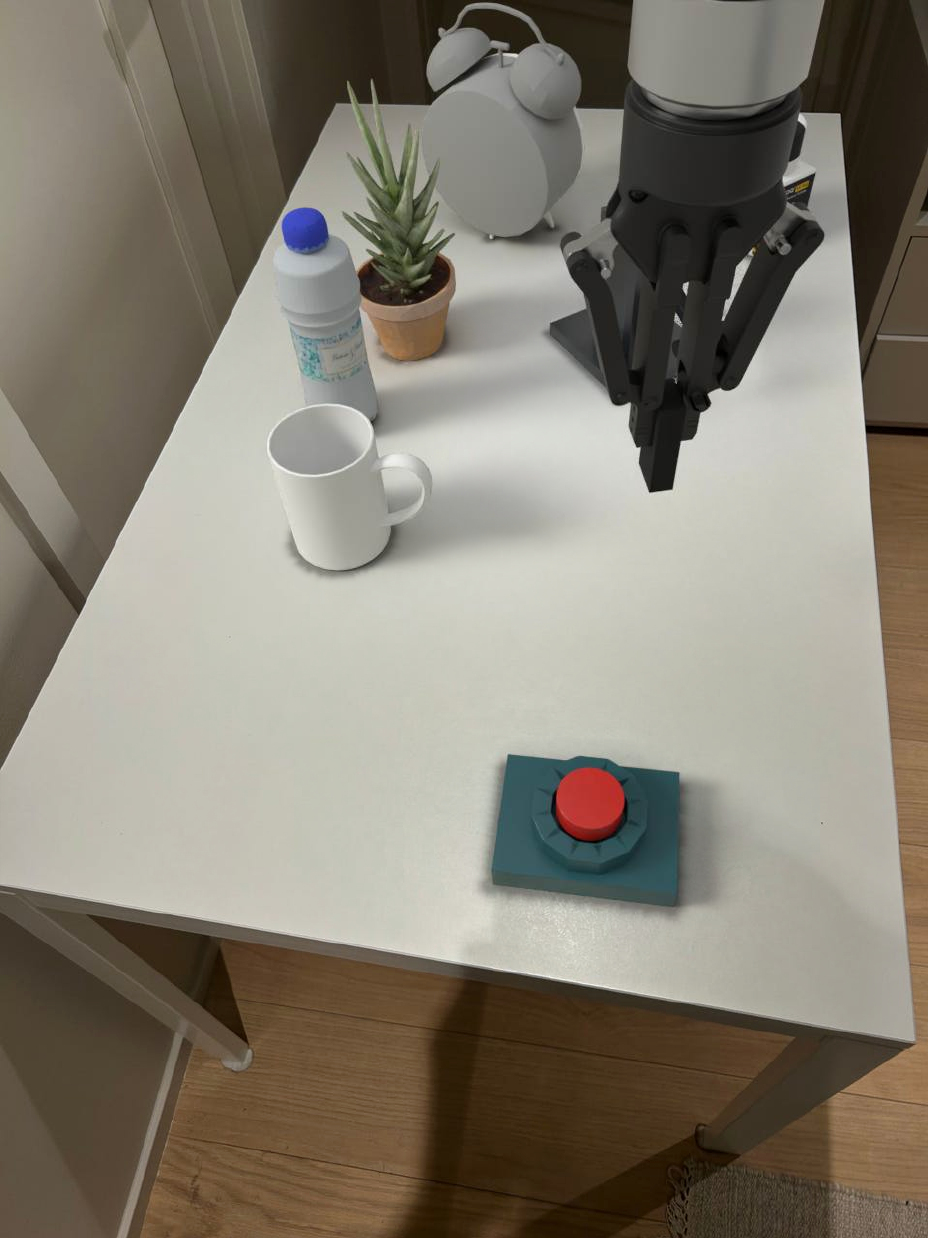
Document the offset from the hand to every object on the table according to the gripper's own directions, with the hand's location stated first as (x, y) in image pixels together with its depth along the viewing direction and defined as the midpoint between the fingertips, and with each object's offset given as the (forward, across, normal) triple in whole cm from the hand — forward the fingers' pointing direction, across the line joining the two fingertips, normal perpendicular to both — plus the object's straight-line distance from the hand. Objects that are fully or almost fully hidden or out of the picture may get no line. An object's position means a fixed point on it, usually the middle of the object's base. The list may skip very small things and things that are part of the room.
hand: (655, 475), depth 59 cm
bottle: (+14, +20, -26) cm, 36 cm away
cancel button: (+10, +7, +17) cm, 21 cm away
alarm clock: (+15, +1, -54) cm, 56 cm away
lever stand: (+14, -7, -31) cm, 35 cm away
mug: (+14, +19, -11) cm, 26 cm away
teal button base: (+14, +7, +17) cm, 23 cm away
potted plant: (+14, +13, -36) cm, 41 cm away
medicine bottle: (+14, -24, -47) cm, 55 cm away
